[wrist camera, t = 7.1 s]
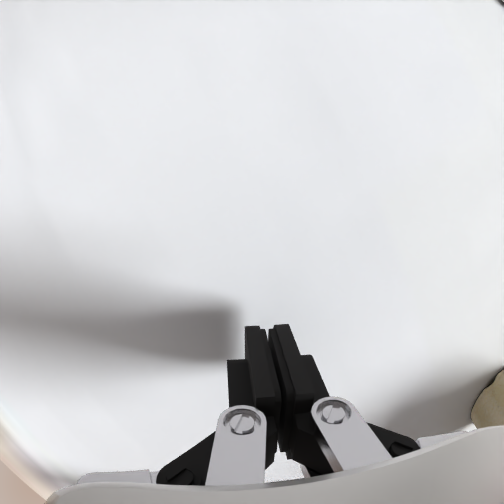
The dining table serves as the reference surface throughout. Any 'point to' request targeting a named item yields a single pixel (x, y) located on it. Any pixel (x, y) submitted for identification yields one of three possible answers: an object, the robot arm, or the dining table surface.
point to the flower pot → (490, 405)
